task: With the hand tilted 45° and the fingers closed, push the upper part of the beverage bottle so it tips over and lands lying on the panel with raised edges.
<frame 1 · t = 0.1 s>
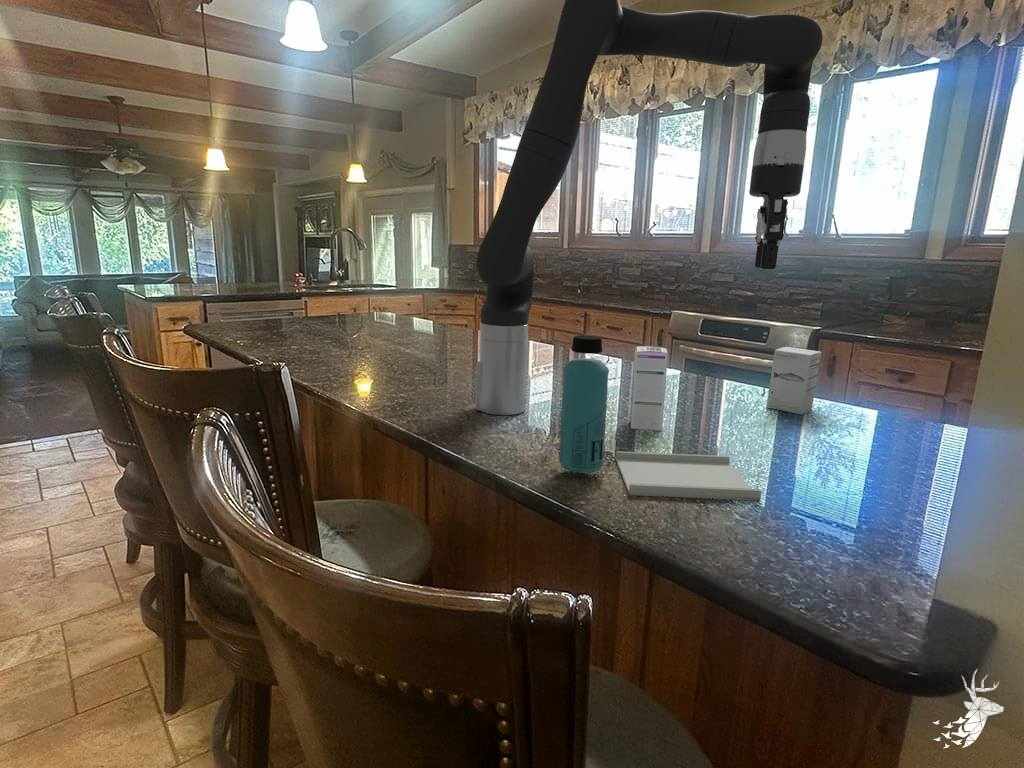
hand: (764, 268, 94), 29 cm above the counter, tool pointing down, fingers open, 8 cm apart
syrup box: (645, 426, 106), on the counter
panel with raised edges: (682, 478, 81), on the counter
supplement box: (789, 409, 121), on the counter
beverage bottle: (579, 475, 81), on the counter
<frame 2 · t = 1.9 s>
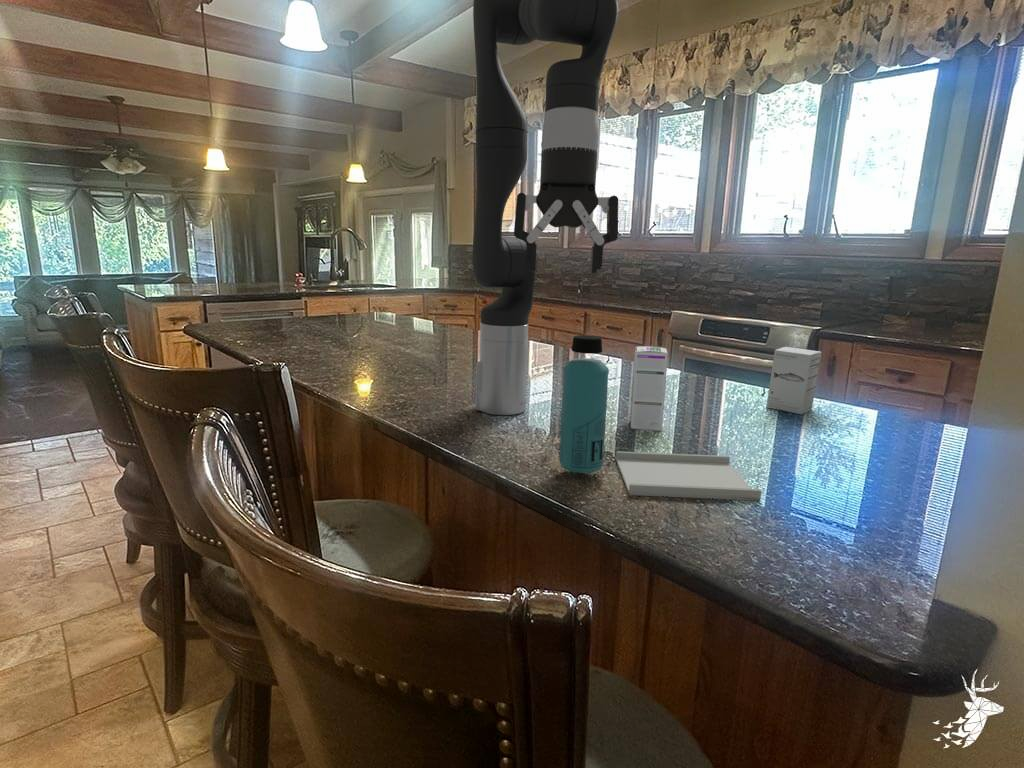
hand: (563, 272, 80), 28 cm above the counter, tool pointing down, fingers open, 8 cm apart
nothing on the counter moved.
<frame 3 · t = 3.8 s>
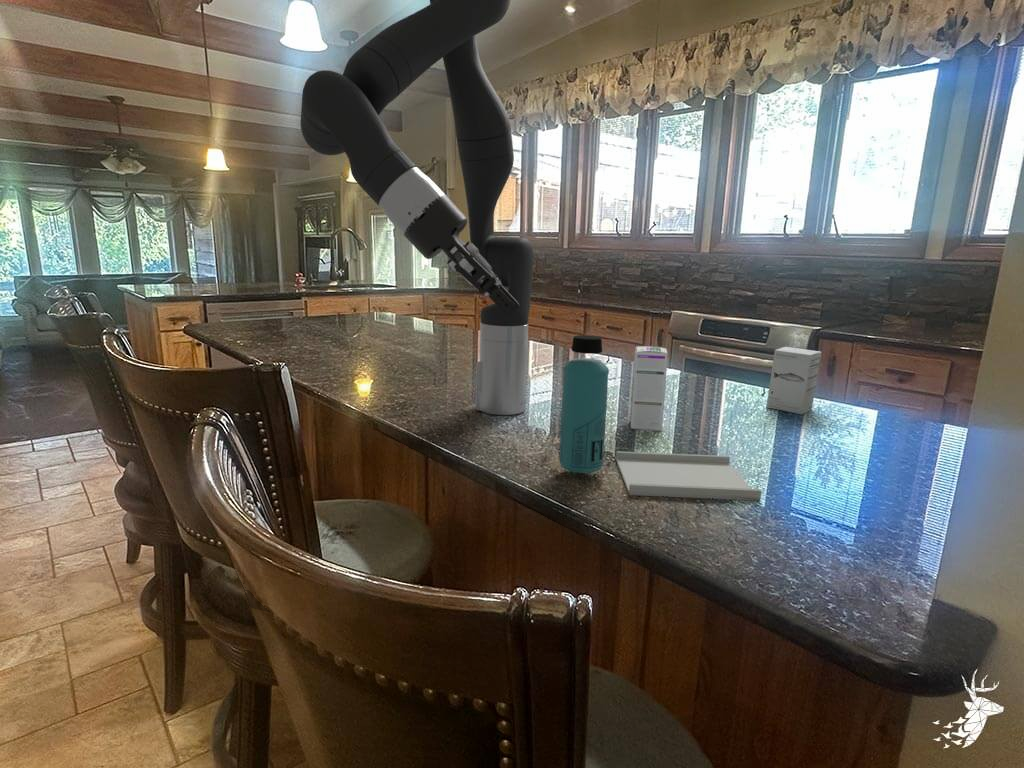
hand: (514, 311, 76), 23 cm above the counter, tool tilted 45°, fingers closed
nothing on the counter moved.
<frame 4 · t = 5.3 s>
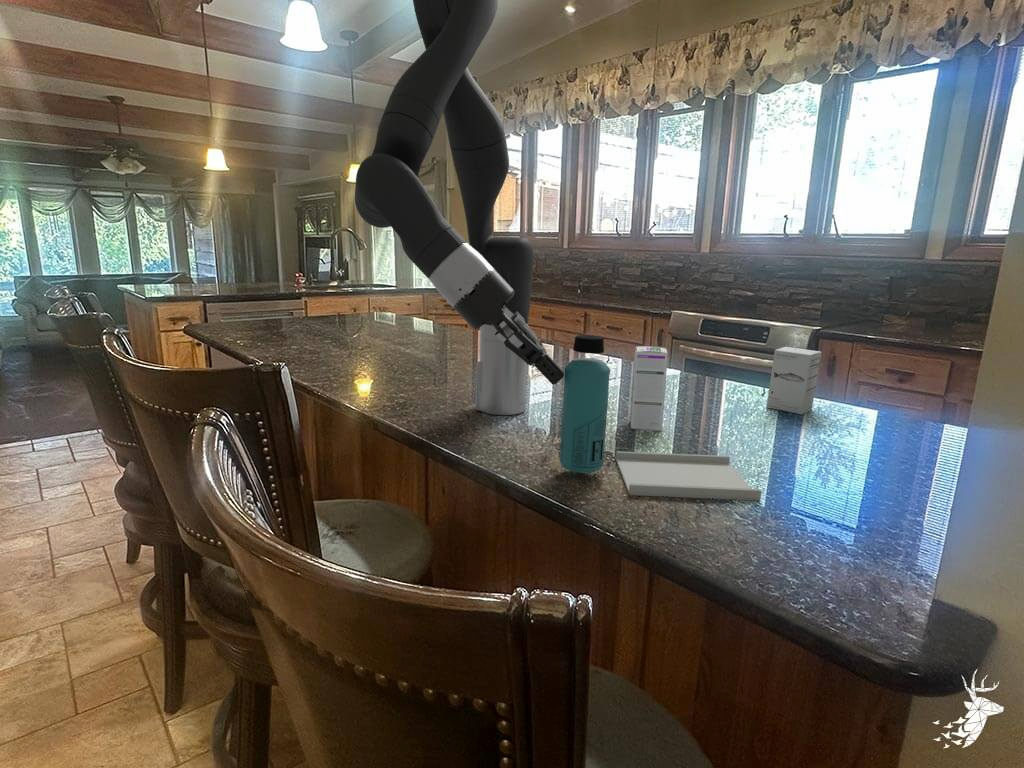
hand: (559, 379, 78), 14 cm above the counter, tool tilted 45°, fingers closed
beverage bottle: (579, 475, 81), on the counter, touching gripper
everything else where it was.
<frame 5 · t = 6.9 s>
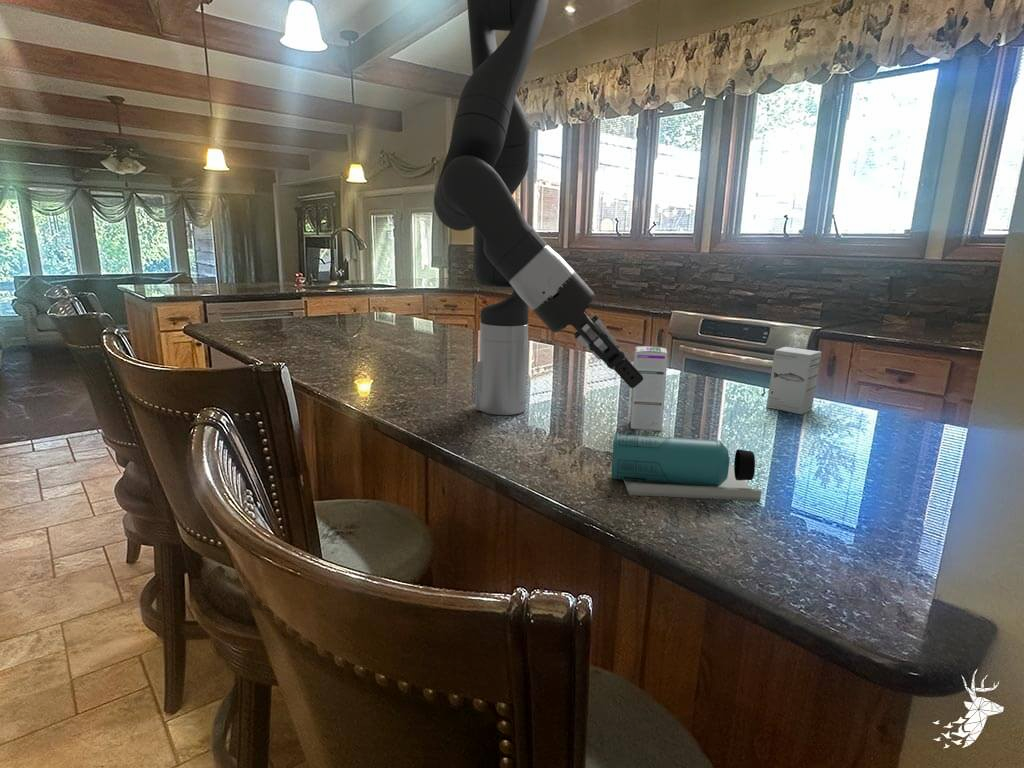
hand: (637, 382, 78), 14 cm above the counter, tool tilted 45°, fingers closed
beverage bottle: (600, 454, 80), point 3 cm above the counter, touching panel with raised edges
everything else where it was.
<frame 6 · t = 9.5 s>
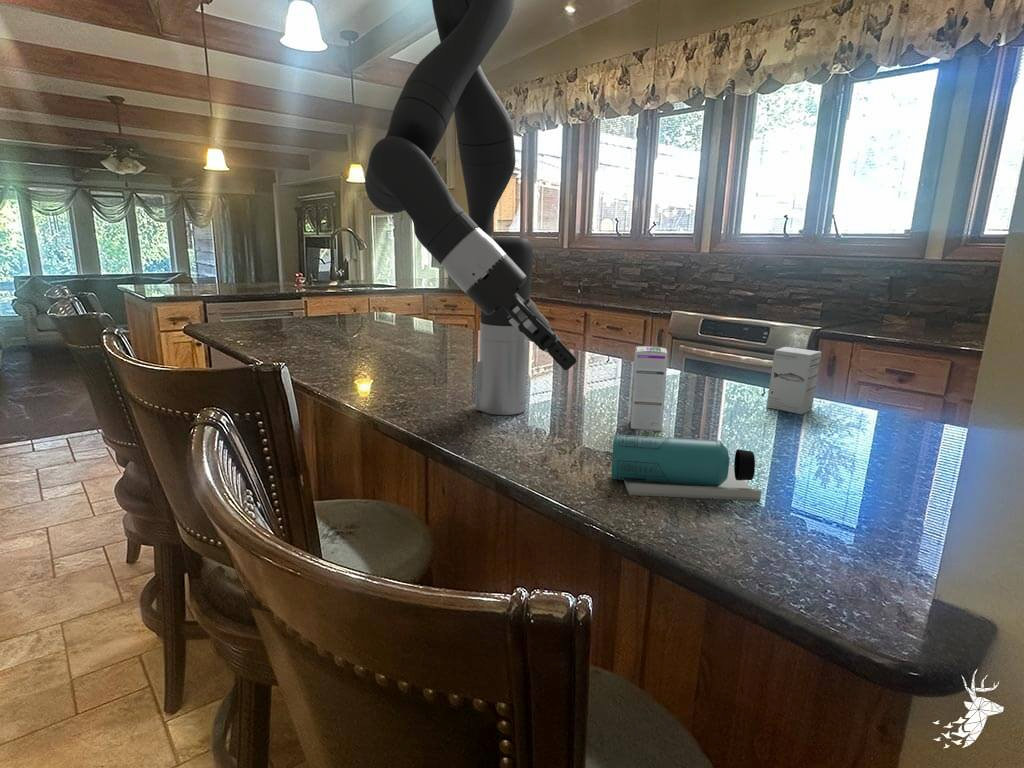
hand: (571, 365, 78), 16 cm above the counter, tool tilted 45°, fingers closed
beverage bottle: (600, 455, 80), point 3 cm above the counter, touching panel with raised edges
everything else where it was.
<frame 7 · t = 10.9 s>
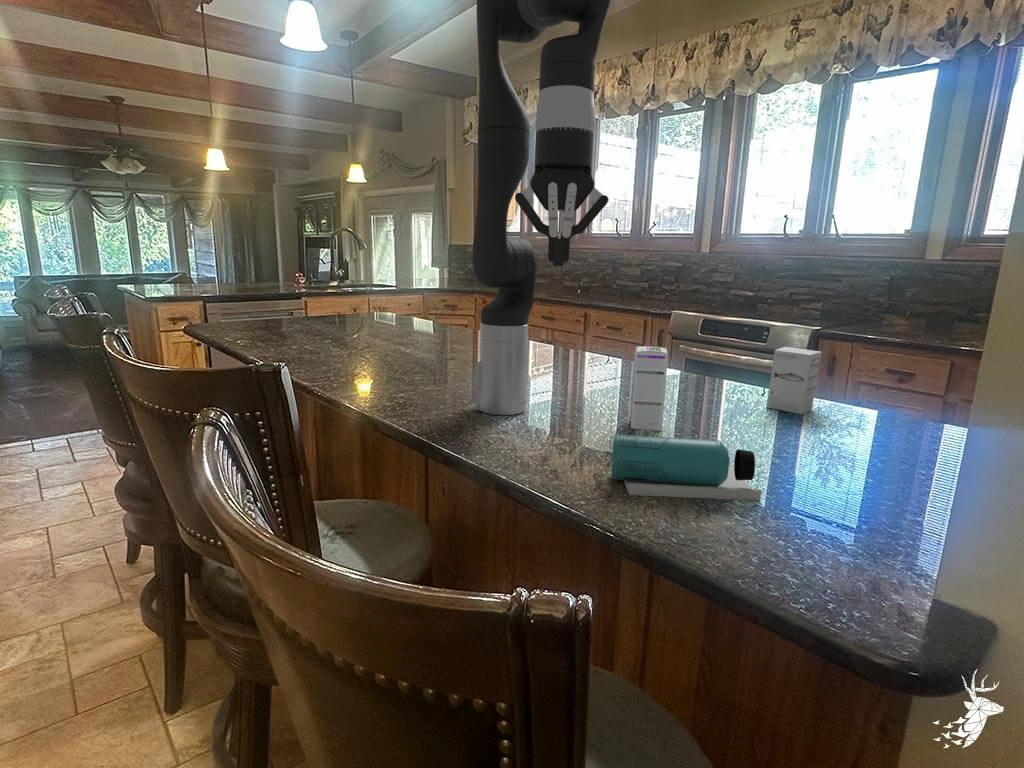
hand: (558, 266, 78), 29 cm above the counter, tool pointing down, fingers closed
nothing on the counter moved.
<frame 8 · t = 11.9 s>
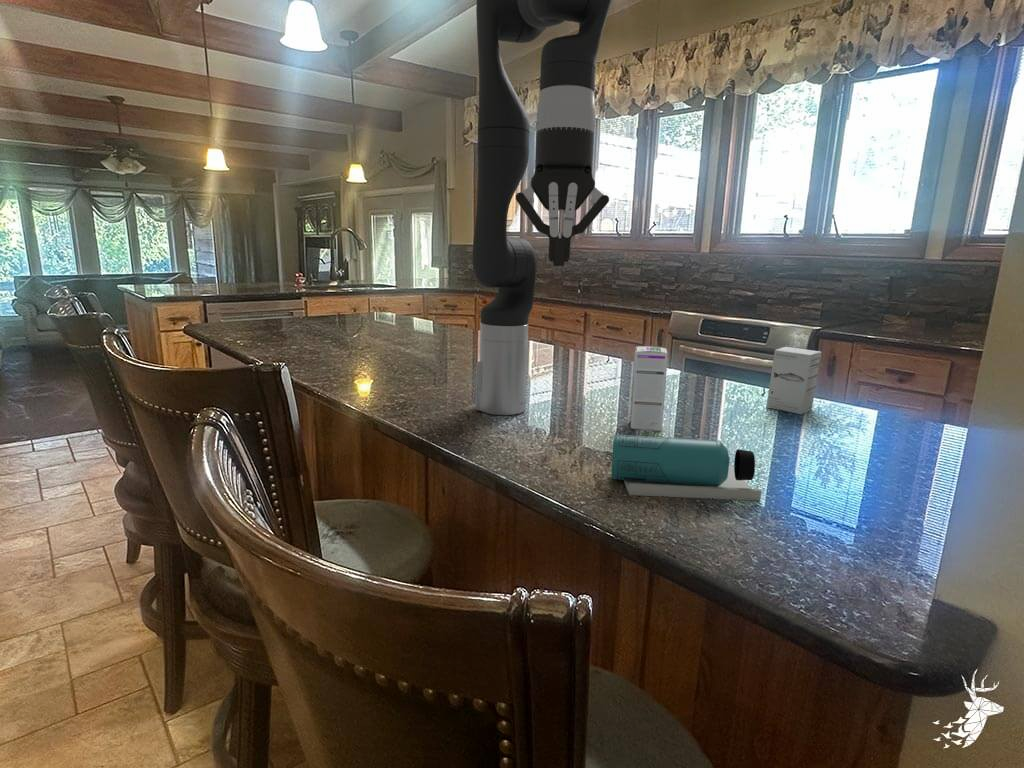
hand: (558, 266, 78), 29 cm above the counter, tool pointing down, fingers closed
nothing on the counter moved.
at the end: beverage bottle tilted 89°; beverage bottle inside the target area (10.7 cm from its centre), point 3.3 cm above the counter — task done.
